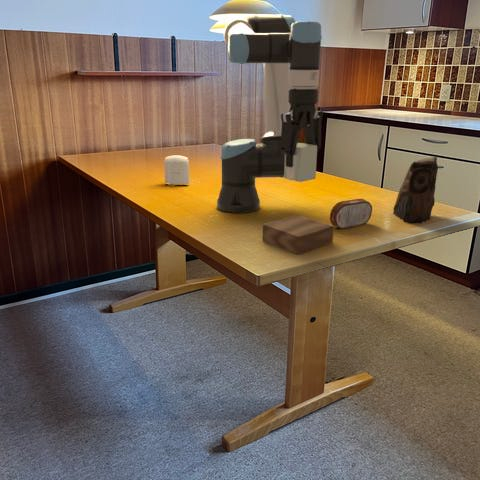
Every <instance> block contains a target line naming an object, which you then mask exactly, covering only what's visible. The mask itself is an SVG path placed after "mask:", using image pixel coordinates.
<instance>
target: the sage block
mask: <svg viewBox="0 0 480 480" xmlns="http://www.w3.org/2000/svg"><path fill="white" fill-rule="evenodd" d="M290 150H291V149H290ZM294 155H297V161H296V180H292V179H288V178H287V167H286V154H285V166H284V177H283V179H285V180H290V181H295V182H299V183H303V182H306V181H307V182H308V181H311V180H315V179H316V178H317V176H316V175H317V158H318V152H317V145H311V144H306V142H305V143H304V142H297V145H296V149H295V153H294Z"/></svg>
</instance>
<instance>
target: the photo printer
mask: <svg viewBox="0 0 480 480" xmlns="http://www.w3.org/2000/svg"><path fill="white" fill-rule="evenodd" d="M163 163H164V184H165V183H169V184H189V185H190V161H189V157H186V156H184V155H179V154H177V155H176V154H175V155H168V156H166V157H165V158H164V162H163Z"/></svg>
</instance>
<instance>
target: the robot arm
mask: <svg viewBox="0 0 480 480" xmlns="http://www.w3.org/2000/svg"><path fill="white" fill-rule="evenodd" d="M223 39H224V43H225V44H226V45H227V48H228V49H227V50H228V51H227V52H228V60H229V62H230V63H231V64H239V65H240V64H241V65H244V64H263V85H264V86H263V87H264V88H263V89H264V92H263V93H264V96H263V97H264V135H262V136H261V138H260V142H259V143H257V141H256V139H254V138H240V139H235V140H229V141H228V142H225V143H224V144H222V147H221V153H220V154H221V155H220V160H221V187H220V191H219V195H218V198H217V201H216V207H217V209H218V210H219V209H220V210H219V211H221V210H222V212H226V213H233V214H234V213H235V214H240V213H241V214H242V213H244V214H245V213H250V212H251V213H252V212H255V211H258V210H260V207H261V200H260V198H259V193H258V191H257V187H256V178H257V179H258V178H260V179H261V178H262V179H263V178H266V179H267V178H281V179H284V166H285V154H286V167H287V178H288V179H287V180H289V179H292V180H291V181H294V180H296V161H297V155H294V153H295V149H296V145H297V143H298V141H299V137H300V133H301V130H302V129H303V133H304V139H305V140H304V141H305V144H311V145H317V153H318V152H319V150H320V149H321V148H322V121H323V120H322V119H323V115H324V113H323V111H322V110H316V105H317V104H318V101H319V100H318V99H319V90H318V89H317V87H319V81H320V80H319V77H320V62H321V61H320V60H321V45H322V39H323V38H322V24H321V23H319V22H318V21H296V20H295V18H294V17H293V16H292V15H289V14H287V15H286V14H281V13H280V14H253V13H252V14H245V15H240V16H238V17H235V18H234V19H231V20H230V21H229V22H228V23H227V24H226V26H225V28H224V31H223ZM290 149H291V150H290Z"/></svg>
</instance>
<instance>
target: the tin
mask: <svg viewBox="0 0 480 480" xmlns="http://www.w3.org/2000/svg"><path fill="white" fill-rule="evenodd" d="M372 212H373V206H372V204H371V202H369V201H368V200H365V199H364V198H355V199H348V200H347V199H346V200H341V201H338V202H337V203H335V204H334V206H333V207H332V209H331V211H330V214H329V221H330V223H331V225H332V226H334V227H335V228H338V229H341V230H342V229H349V228H355V227H360V226H364V225H366V224H367V223H368V222H369V221H370V219H371V217H372Z"/></svg>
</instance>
